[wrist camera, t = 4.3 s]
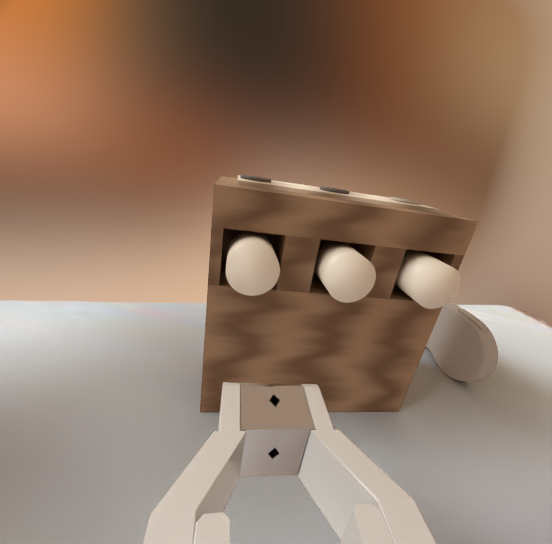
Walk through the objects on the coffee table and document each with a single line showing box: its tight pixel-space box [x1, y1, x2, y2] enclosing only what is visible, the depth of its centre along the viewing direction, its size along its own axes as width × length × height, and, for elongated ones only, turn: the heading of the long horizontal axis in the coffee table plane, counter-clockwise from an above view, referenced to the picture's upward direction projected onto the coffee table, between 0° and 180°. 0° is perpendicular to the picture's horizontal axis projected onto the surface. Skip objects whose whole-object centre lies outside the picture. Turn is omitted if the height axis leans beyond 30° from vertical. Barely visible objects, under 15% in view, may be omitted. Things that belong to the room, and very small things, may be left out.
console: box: [200, 175, 478, 412], centre depth 27 cm, size 20×8×20 cm, turn 98°
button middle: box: [314, 241, 376, 303], centre depth 21 cm, size 4×4×4 cm
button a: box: [226, 231, 280, 296], centre depth 20 cm, size 4×4×4 cm
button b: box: [395, 249, 461, 309], centre depth 22 cm, size 4×4×4 cm
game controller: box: [426, 301, 498, 381], centre depth 40 cm, size 20×2×8 cm, turn 9°
